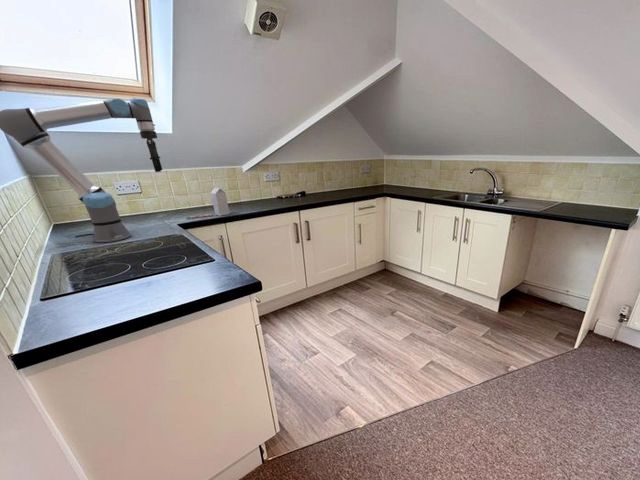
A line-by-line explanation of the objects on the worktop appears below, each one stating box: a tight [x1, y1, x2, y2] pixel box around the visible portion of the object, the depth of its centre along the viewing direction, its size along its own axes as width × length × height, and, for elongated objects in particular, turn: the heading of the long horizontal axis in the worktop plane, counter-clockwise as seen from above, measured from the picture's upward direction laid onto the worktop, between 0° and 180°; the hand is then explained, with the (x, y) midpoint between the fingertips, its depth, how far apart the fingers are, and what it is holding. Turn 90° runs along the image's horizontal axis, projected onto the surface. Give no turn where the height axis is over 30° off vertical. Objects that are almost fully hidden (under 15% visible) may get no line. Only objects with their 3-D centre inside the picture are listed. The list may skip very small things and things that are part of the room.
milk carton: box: [210, 185, 231, 217], centre depth 206 cm, size 7×7×19 cm
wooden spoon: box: [186, 213, 213, 220], centre depth 203 cm, size 15×5×1 cm, turn 119°
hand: (159, 171), depth 174 cm, fingers open, 13 cm apart
